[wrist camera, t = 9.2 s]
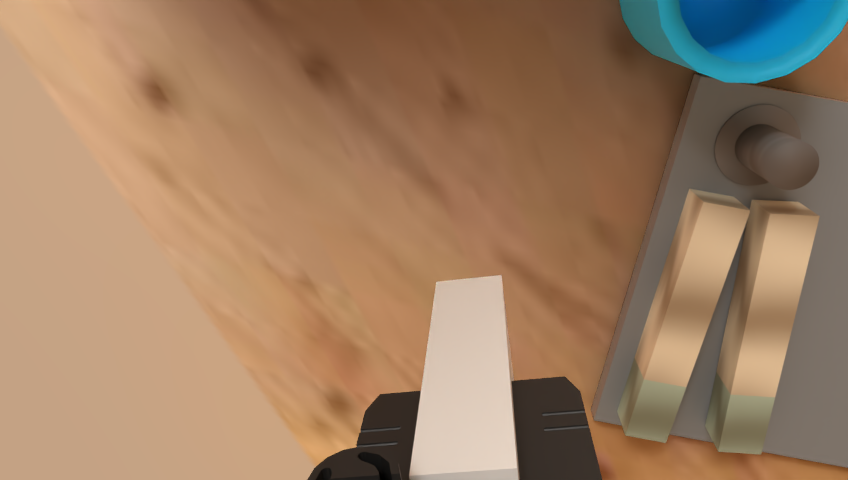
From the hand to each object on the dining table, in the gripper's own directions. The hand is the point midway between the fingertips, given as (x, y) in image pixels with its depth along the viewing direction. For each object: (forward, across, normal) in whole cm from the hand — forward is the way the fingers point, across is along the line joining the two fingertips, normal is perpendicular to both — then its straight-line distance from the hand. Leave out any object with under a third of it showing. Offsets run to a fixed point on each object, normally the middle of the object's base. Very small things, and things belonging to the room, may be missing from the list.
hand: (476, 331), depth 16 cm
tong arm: (+23, +14, -13) cm, 30 cm away
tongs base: (+23, +12, -10) cm, 28 cm away
